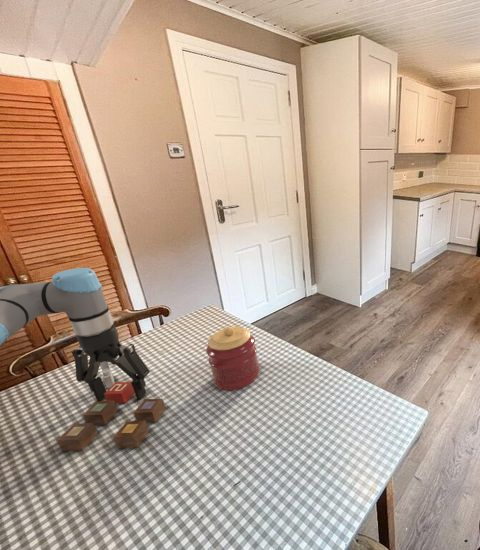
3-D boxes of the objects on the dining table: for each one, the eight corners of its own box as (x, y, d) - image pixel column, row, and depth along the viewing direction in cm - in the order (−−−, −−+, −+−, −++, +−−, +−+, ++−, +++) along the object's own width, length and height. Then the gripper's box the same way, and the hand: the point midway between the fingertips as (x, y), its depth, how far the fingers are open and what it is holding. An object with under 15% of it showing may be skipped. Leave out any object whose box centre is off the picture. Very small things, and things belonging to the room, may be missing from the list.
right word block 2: (137, 424, 76) (133, 412, 74) (148, 410, 80) (144, 398, 78) (156, 424, 76) (151, 411, 75) (166, 409, 80) (162, 398, 79)
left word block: (87, 427, 75) (81, 415, 74) (101, 413, 79) (96, 401, 78) (106, 426, 75) (101, 414, 74) (119, 412, 80) (114, 400, 78)
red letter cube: (108, 405, 82) (103, 393, 80) (119, 393, 86) (115, 381, 84) (125, 404, 82) (121, 393, 80) (136, 392, 86) (132, 381, 85)
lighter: (115, 387, 88) (106, 365, 85) (107, 390, 87) (98, 367, 84) (113, 375, 93) (105, 353, 90) (106, 377, 92) (97, 355, 89)
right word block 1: (118, 450, 69) (112, 437, 68) (131, 433, 74) (126, 420, 72) (138, 449, 70) (133, 436, 68) (150, 432, 74) (145, 420, 72)
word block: (63, 453, 69) (56, 440, 67) (79, 436, 73) (73, 423, 71) (84, 452, 69) (77, 439, 67) (99, 435, 73) (93, 422, 72)
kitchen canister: (222, 400, 83) (209, 346, 77) (208, 375, 92) (196, 326, 86) (267, 378, 91) (259, 328, 85) (250, 358, 100) (242, 311, 94)
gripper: (151, 319, 80) (171, 386, 88) (61, 322, 78) (91, 390, 87) (132, 335, 73) (156, 406, 81) (33, 339, 71) (68, 410, 80)
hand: (122, 398), depth 84 cm, fingers open, 10 cm apart
